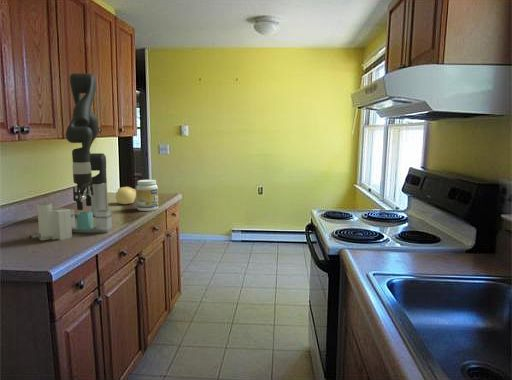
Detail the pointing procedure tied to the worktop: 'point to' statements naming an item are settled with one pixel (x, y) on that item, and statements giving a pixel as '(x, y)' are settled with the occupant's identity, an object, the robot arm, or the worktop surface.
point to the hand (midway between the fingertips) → (84, 207)
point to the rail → (101, 222)
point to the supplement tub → (147, 195)
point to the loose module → (85, 220)
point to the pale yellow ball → (125, 195)
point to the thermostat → (53, 222)
